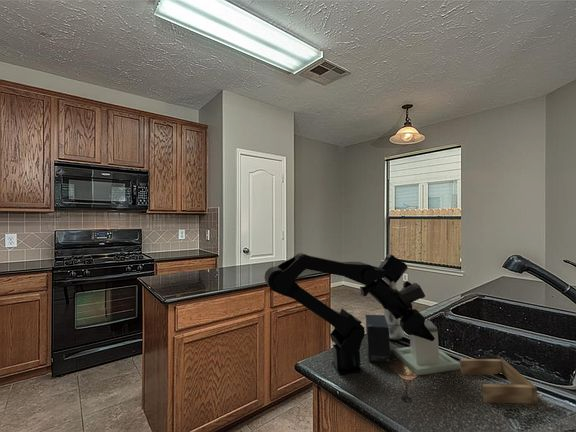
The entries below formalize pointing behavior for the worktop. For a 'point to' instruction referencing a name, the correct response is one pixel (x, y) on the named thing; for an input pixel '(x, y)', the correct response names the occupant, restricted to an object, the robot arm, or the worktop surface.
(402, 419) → the worktop surface
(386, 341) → the small box
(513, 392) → the bay
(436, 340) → the grey drawer with handle
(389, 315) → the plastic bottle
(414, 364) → the tray
